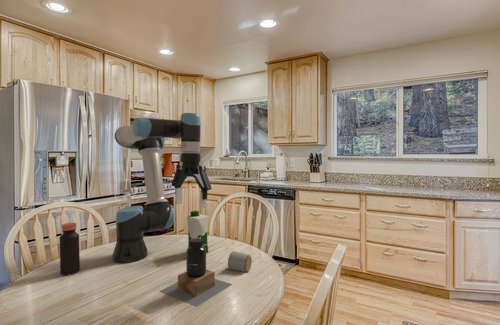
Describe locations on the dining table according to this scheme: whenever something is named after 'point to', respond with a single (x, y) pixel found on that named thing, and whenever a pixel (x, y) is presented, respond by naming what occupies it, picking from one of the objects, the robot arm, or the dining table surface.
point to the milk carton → (197, 227)
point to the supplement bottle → (196, 258)
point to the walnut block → (196, 283)
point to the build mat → (193, 299)
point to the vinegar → (69, 250)
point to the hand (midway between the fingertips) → (190, 205)
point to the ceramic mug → (239, 261)
